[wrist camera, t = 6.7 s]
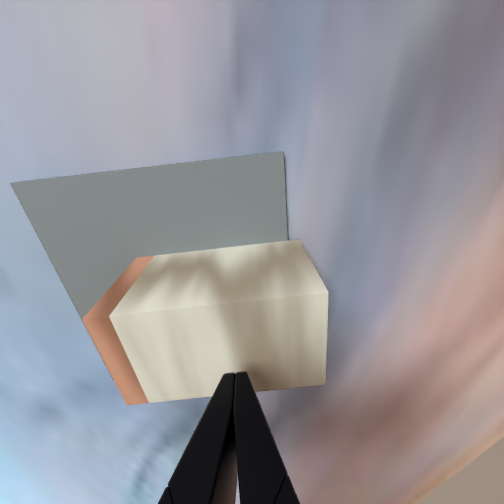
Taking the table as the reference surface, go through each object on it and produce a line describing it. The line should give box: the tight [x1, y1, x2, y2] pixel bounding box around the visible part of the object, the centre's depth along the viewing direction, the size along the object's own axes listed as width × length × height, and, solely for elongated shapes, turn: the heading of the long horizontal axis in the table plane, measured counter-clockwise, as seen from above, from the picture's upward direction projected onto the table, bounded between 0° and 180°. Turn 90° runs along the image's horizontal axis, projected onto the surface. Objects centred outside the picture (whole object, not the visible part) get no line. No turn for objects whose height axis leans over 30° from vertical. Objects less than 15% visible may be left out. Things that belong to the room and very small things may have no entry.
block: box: [82, 239, 329, 405], centre depth 12 cm, size 5×5×9 cm
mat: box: [10, 151, 288, 381], centre depth 15 cm, size 13×14×1 cm
